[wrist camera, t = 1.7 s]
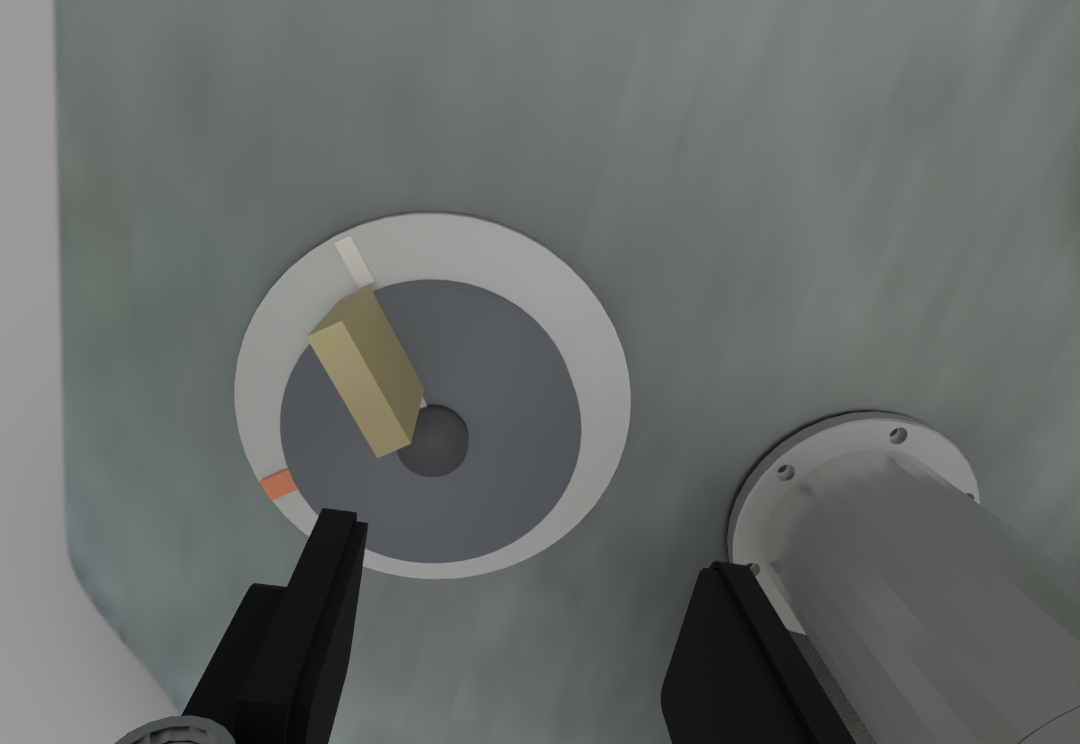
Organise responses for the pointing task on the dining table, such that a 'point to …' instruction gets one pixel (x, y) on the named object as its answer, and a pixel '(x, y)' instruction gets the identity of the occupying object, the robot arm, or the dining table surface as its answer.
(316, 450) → the dial
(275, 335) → the plate
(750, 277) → the dining table surface
